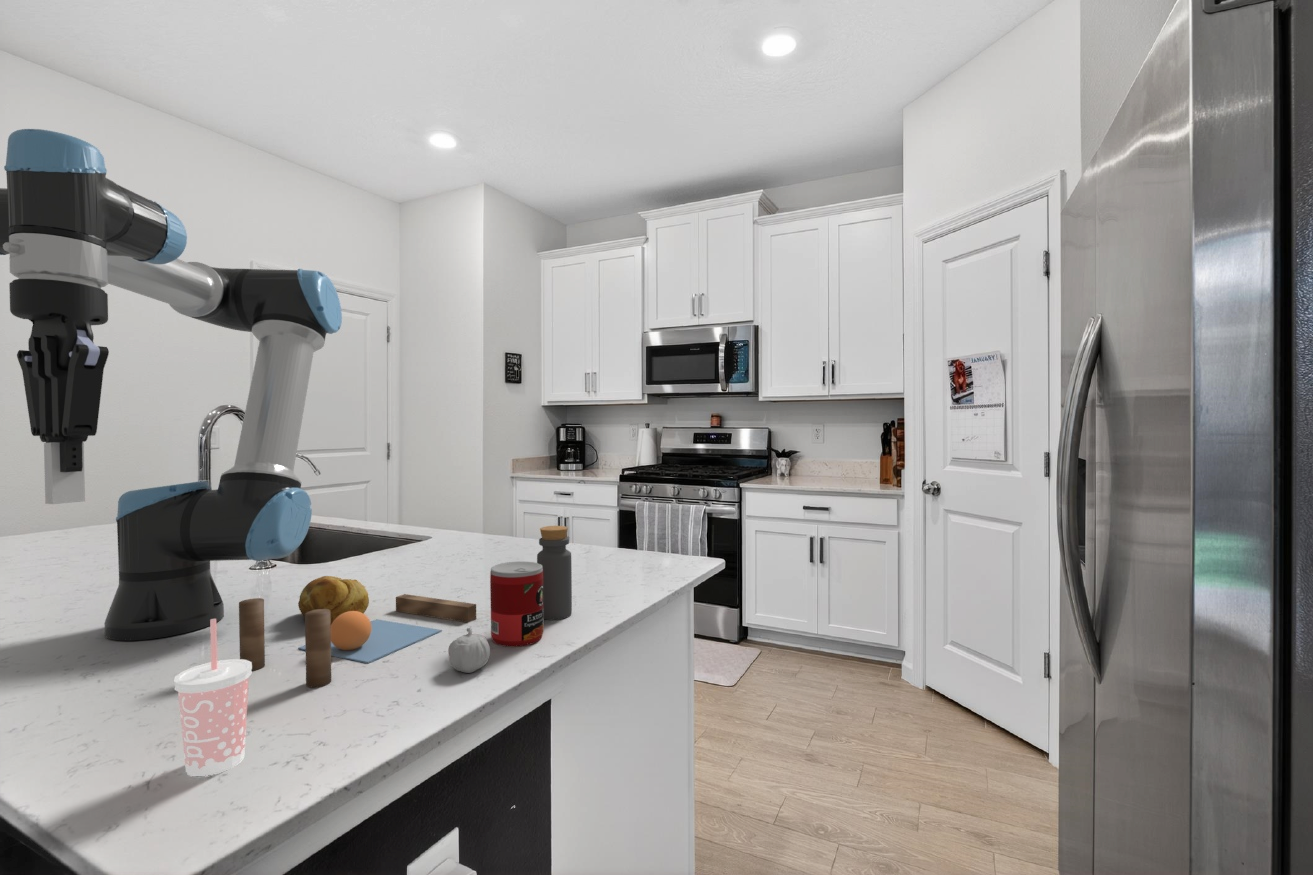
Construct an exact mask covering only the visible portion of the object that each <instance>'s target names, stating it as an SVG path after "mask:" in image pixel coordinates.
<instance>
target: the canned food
mask: <svg viewBox="0 0 1313 875" xmlns="http://www.w3.org/2000/svg"><path fill="white" fill-rule="evenodd" d="M489 574H490V575H489V576H490V577H489V578H490V580H489V584H490V585H489V587H490V588H489V590H490V636H491V639H492V642H493V643H494V644H496V645H498V646H502V647H510V648H512V647H513V648H514V647H515V648H516V647H524V646H529V645H533V644H535V643H537V642H538V641H540V640H541V639H542V637H543V633H544V619H543V567H542V565H541V564H538V563H537V562H534V561H509V562H501V563H498V564H495V565H493V566H491V568H490V573H489Z"/></svg>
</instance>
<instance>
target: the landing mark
mask: <svg viewBox="0 0 1313 875" xmlns="http://www.w3.org/2000/svg"><path fill="white" fill-rule="evenodd" d="M370 622H371V634H370V636H369V638H368V640H367V641H366V642H365V643H364V644H363V645H362V646H361V647H359V648H357V649H354V650H341V649H339V648H337V647H335V646H334V645H333V643H332V642H331V657H336V658H340V659H345V660H350V661H356V662H360V663H365V664H370V663H372V662H374V661H378V660H379V659H382V658H384V657H386V656H388V655H391V654H393V653H395V652H397V651H400V650H402V649H405V648H407V647H409V646H411V645H414V644H416V643H419V642H420V641H423V640H425V639H427V638H429V637H432V636H434V635H436V634H439V633H441V632H442V631H443V630H442V629H438V628H433V627H426V626H420V625H414V624H408V623H402V622H397V621H390V620H383V619H376V618H375V619H374V620H370ZM298 650H300V651H305V652H306V646H305V645H301V646H299V647H298Z"/></svg>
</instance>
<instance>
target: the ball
mask: <svg viewBox="0 0 1313 875" xmlns="http://www.w3.org/2000/svg"><path fill="white" fill-rule="evenodd" d="M370 621H371V620H370V618H369V617H368V616H367V615H366V614H365V613H364V614H363V613H361V612H358V611H348V612H345V613H343V614H341V615H339V616H338V617H337V618H336V619H335V620H334V621H333V623H332V624H331V642H332V643H333V645H334V646H335V647H337V648H339V649H341V650H354V649H357V648H359V647H361V646H362V645H363V644H364V643H365V642H366V641H367V640H368V638H369V636H370V634H371V622H370Z"/></svg>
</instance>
